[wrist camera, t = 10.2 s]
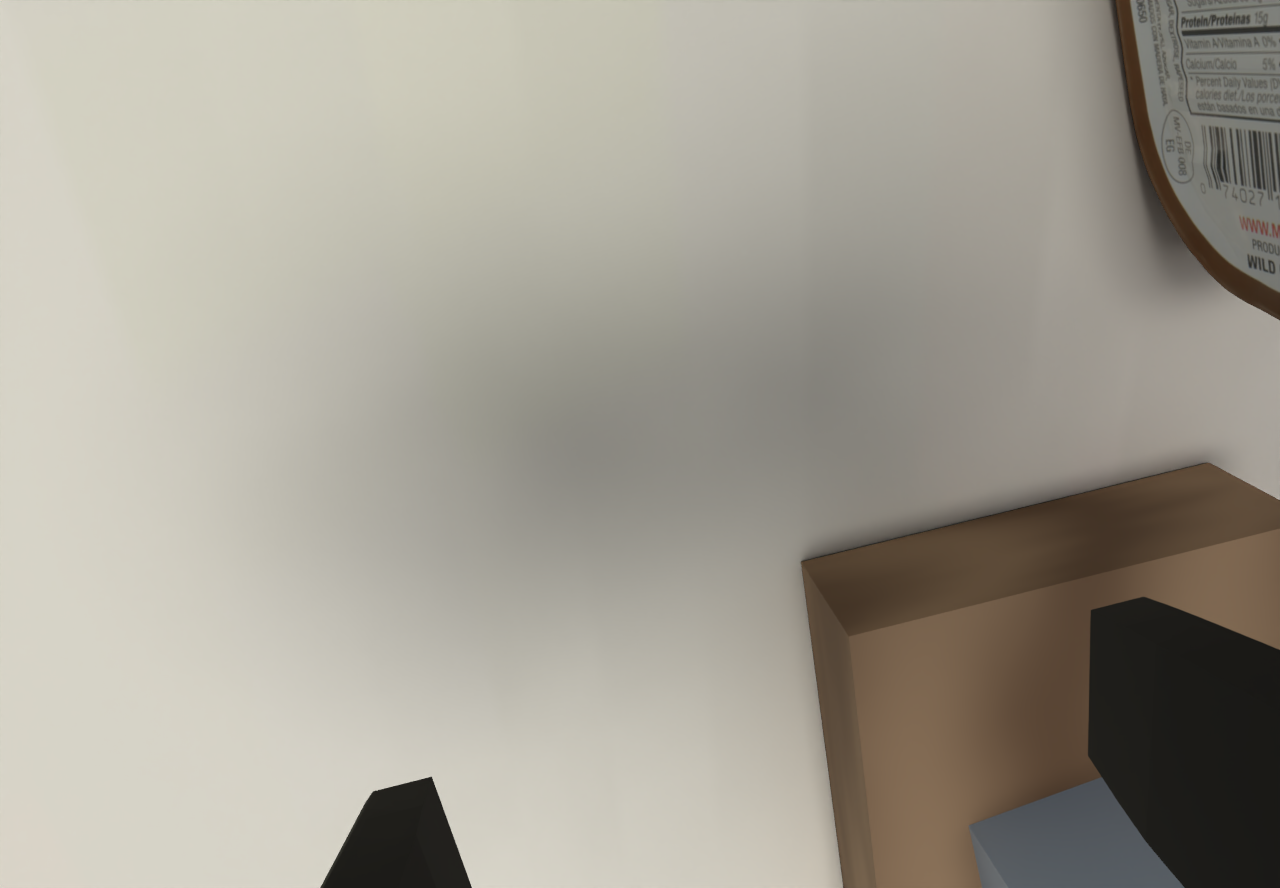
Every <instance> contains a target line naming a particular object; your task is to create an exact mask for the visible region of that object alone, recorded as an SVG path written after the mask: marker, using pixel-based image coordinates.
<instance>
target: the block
mask: <svg viewBox="0 0 1280 888" xmlns="http://www.w3.org/2000/svg"><path fill="white" fill-rule="evenodd" d="M969 830H970V834H971V839H972V844H973V848H974V853H975V858H976V862H977V867H978V871H979V876H980V881H981V885H982V888H1184V886H1183V885H1182V884H1181V883H1180V882H1179V881H1178V879H1177V878H1176V877H1175V876H1174V875H1173V874H1172V872H1171V871H1170V870H1169V869H1168V868H1167V867H1166V865H1165V864H1164V863H1163V862H1162V861H1161V859H1160V858H1159V857H1158V856H1157V855H1156V853H1155V852H1154V851H1153V850H1152V849H1151V847H1150V846H1149V845H1148V844H1147V843H1146V841H1145V840H1144V838H1143V837H1142V836H1141V834H1140V833H1139V831H1138V830H1137V828H1136V827H1135V826H1134V824H1133V823H1132V821H1131V820H1130V818H1129V817H1128V816H1127V814H1126V813H1125V811H1124V810H1123V808H1122V807H1121V805H1120V804H1119V803H1118V801H1117V800H1116V798H1115V797H1114V795H1113V793H1112V792H1111V790H1110V789H1109V787H1108V786H1107V784H1106V783H1105V781H1104V780H1103V778H1102V777H1101V778H1098V779H1095V780H1092V781H1090V782H1087V783H1084V784H1081V785H1079V786H1076V787H1073V788H1070V789H1068V790H1065V791H1062V792H1059V793H1057V794H1054V795H1051V796H1048V797H1046V798H1043V799H1040V800H1037V801H1035V802H1032V803H1029V804H1026V805H1024V806H1021V807H1018V808H1015V809H1013V810H1010V811H1007V812H1004V813H1002V814H999V815H996V816H993V817H991V818H988V819H985V820H982V821H980V822H977V823H974V824H971V825H969Z"/></svg>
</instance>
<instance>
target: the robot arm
mask: <svg viewBox="0 0 1280 888" xmlns="http://www.w3.org/2000/svg"><path fill="white" fill-rule="evenodd" d="M1088 757H1089V758H1090V760H1091V761H1092V763H1093V764H1094V766H1095V767H1096V769H1097V770H1098V772H1099V774H1100V775H1101V777H1102V778H1103V780H1104V781H1105V783H1106V784H1107V786H1108V787H1109V789H1110V790H1111V792H1112V793H1113V795H1114V797H1115V798H1116V800H1117V801H1118V803H1119V804H1120V805H1121V807H1122V808H1123V810H1124V811H1125V813H1126V814H1127V816H1128V817H1129V818H1130V820H1131V821H1132V823H1133V824H1134V826H1135V827H1136V828H1137V830H1138V831H1139V833H1140V834H1141V836H1142V837H1143V838H1144V840H1145V841H1146V843H1147V844H1148V845H1149V846H1150V847H1151V849H1152V850H1153V851H1154V852H1155V853H1156V855H1157V856H1158V857H1159V858H1160V859H1161V861H1162V862H1163V863H1164V864H1165V865H1166V867H1167V868H1168V869H1169V870H1170V871H1171V872H1172V874H1173V875H1174V876H1175V877H1176V878H1177V879H1178V881H1179V882H1180V883H1181V884H1182V885H1183V886H1184V888H1280V650H1279V649H1277V648H1274V647H1272V646H1269V645H1267V644H1264V643H1262V642H1260V641H1257V640H1255V639H1252V638H1250V637H1247V636H1245V635H1242V634H1240V633H1238V632H1235V631H1233V630H1230V629H1228V628H1225V627H1223V626H1220V625H1218V624H1215V623H1213V622H1210V621H1208V620H1205V619H1203V618H1200V617H1198V616H1195V615H1193V614H1190V613H1188V612H1185V611H1183V610H1180V609H1177V608H1175V607H1172V606H1169V605H1167V604H1164V603H1161V602H1158V601H1155V600H1152V599H1150V598H1147V597H1140V598H1136V599H1132V600H1128V601H1124V602H1120V603H1116V604H1112V605H1108V606H1104V607H1100V608H1096V609H1092V610H1091V617H1090V669H1089V722H1088ZM320 888H472V887H471V884H470V881H469V879H468V876H467V873H466V870H465V868H464V865H463V862H462V859H461V857H460V854H459V851H458V848H457V845H456V843H455V840H454V837H453V834H452V832H451V829H450V826H449V823H448V821H447V818H446V815H445V812H444V810H443V807H442V804H441V801H440V799H439V796H438V793H437V790H436V787H435V785H434V782H433V779H432V777H429V778H425V779H421V780H417V781H413V782H409V783H405V784H401V785H397V786H393V787H389V788H385V789H381V790H378V791H374V792H372V794H371V795H370V797H369V798H368V800H367V801H366V803H365V805H364V806H363V808H362V810H361V812H360V814H359V816H358V818H357V820H356V821H355V823H354V825H353V827H352V829H351V831H350V833H349V835H348V837H347V839H346V840H345V842H344V844H343V846H342V848H341V850H340V852H339V854H338V856H337V858H336V859H335V861H334V863H333V865H332V867H331V869H330V871H329V873H328V874H327V876H326V878H325V880H324V882H323V884H322V886H321V887H320Z"/></svg>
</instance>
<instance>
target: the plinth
mask: <svg viewBox="0 0 1280 888" xmlns="http://www.w3.org/2000/svg"><path fill="white" fill-rule="evenodd" d="M801 565H802V572H803V580H804V588H805V595H806V603H807V611H808V618H809V626H810V633H811V641H812V649H813V656H814V664H815V672H816V679H817V687H818V695H819V702H820V710H821V717H822V725H823V733H824V740H825V748H826V756H827V763H828V771H829V779H830V786H831V794H832V801H833V809H834V817H835V824H836V832H837V840H838V847H839V855H840V863H841V870H842V878H843V885H844V888H982V885H981V881H980V876H979V871H978V867H977V862H976V858H975V853H974V848H973V844H972V839H971V834H970V830H969V825H971V824H974V823H977V822H980V821H982V820H985V819H988V818H991V817H993V816H996V815H999V814H1002V813H1004V812H1007V811H1010V810H1013V809H1015V808H1018V807H1021V806H1024V805H1026V804H1029V803H1032V802H1035V801H1037V800H1040V799H1043V798H1046V797H1048V796H1051V795H1054V794H1057V793H1059V792H1062V791H1065V790H1068V789H1070V788H1073V787H1076V786H1079V785H1081V784H1084V783H1087V782H1090V781H1092V780H1095V779H1098V778H1101V775H1100V774H1099V772H1098V770H1097V769H1096V767H1095V766H1094V764H1093V763H1092V761H1091V760H1090V758H1089V757H1088V722H1089V669H1090V617H1091V610H1092V609H1096V608H1100V607H1104V606H1108V605H1112V604H1116V603H1120V602H1124V601H1128V600H1132V599H1136V598H1140V597H1147V598H1150V599H1152V600H1155V601H1158V602H1161V603H1164V604H1167V605H1169V606H1172V607H1175V608H1177V609H1180V610H1183V611H1185V612H1188V613H1190V614H1193V615H1195V616H1198V617H1200V618H1203V619H1205V620H1208V621H1210V622H1213V623H1215V624H1218V625H1220V626H1223V627H1225V628H1228V629H1230V630H1233V631H1235V632H1238V633H1240V634H1242V635H1245V636H1247V637H1250V638H1252V639H1255V640H1257V641H1260V642H1262V643H1264V644H1267V645H1269V646H1272V647H1274V648H1277V649H1279V650H1280V500H1278V499H1276V498H1274V497H1273V496H1271V495H1269V494H1267V493H1265V492H1263V491H1261V490H1259V489H1258V488H1256V487H1254V486H1252V485H1250V484H1248V483H1246V482H1244V481H1243V480H1241V479H1239V478H1237V477H1235V476H1233V475H1231V474H1229V473H1227V472H1226V471H1224V470H1222V469H1220V468H1218V467H1216V466H1214V465H1212V464H1211V463H1205V464H1201V465H1197V466H1193V467H1189V468H1185V469H1180V470H1176V471H1172V472H1168V473H1164V474H1160V475H1156V476H1152V477H1148V478H1143V479H1139V480H1135V481H1131V482H1127V483H1123V484H1119V485H1115V486H1111V487H1107V488H1102V489H1098V490H1094V491H1090V492H1086V493H1082V494H1078V495H1074V496H1070V497H1066V498H1061V499H1057V500H1053V501H1049V502H1045V503H1041V504H1037V505H1033V506H1029V507H1025V508H1020V509H1016V510H1012V511H1008V512H1004V513H1000V514H996V515H992V516H988V517H984V518H979V519H975V520H971V521H967V522H963V523H959V524H955V525H951V526H947V527H943V528H938V529H934V530H930V531H926V532H922V533H918V534H914V535H910V536H906V537H902V538H897V539H893V540H889V541H885V542H881V543H877V544H873V545H869V546H865V547H861V548H856V549H852V550H848V551H844V552H840V553H836V554H832V555H828V556H824V557H819V558H815V559H811V560H807V561H803V562H801Z"/></svg>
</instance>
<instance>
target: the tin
mask: <svg viewBox="0 0 1280 888" xmlns="http://www.w3.org/2000/svg"><path fill="white" fill-rule="evenodd" d="M1115 1H1116V8H1117V16H1118V23H1119V30H1120V37H1121V44H1122V51H1123V58H1124V66H1125V73H1126V80H1127V87H1128V94H1129V101H1130V107H1131V112H1132V117H1133V122H1134V127H1135V132H1136V137H1137V140H1138V144H1139V147H1140V150H1141V154H1142V157H1143V161H1144V163H1145V166H1146V169H1147V172H1148V174H1149V177H1150V180H1151V182H1152V184H1153V186H1154V189H1155V191H1156V193H1157V195H1158V197H1159V199H1160V201H1161V204H1162V206H1163V208H1164V210H1165V212H1166V214H1167V216H1168V217H1169V219H1170V221H1171V222H1172V224H1173V226H1174V227H1175V229H1176V231H1177V232H1178V234H1179V236H1180V237H1181V238H1182V240H1183V241H1184V243H1185V244H1186V246H1187V247H1188V248H1189V250H1190V251H1191V252H1192V254H1193V255H1194V256H1195V257H1196V258H1197V260H1198V261H1199V262H1200V263H1201V264H1202V265H1203V267H1204V268H1205V269H1206V270H1207V271H1208V273H1209V274H1210V275H1211V276H1212V277H1213V278H1214V279H1215V280H1216V281H1217V282H1219V283H1220V284H1221V285H1222V286H1223V287H1224V288H1225V289H1227V290H1228V291H1229V292H1231V293H1232V294H1234V295H1235V296H1237V297H1238V298H1240V299H1242V300H1243V301H1245V302H1247V303H1249V304H1251V305H1253V306H1255V307H1257V308H1259V309H1261V310H1262V311H1264V312H1266V313H1268V314H1270V315H1271V316H1273V317H1275V318H1277V319H1279V320H1280V0H1115Z"/></svg>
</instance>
